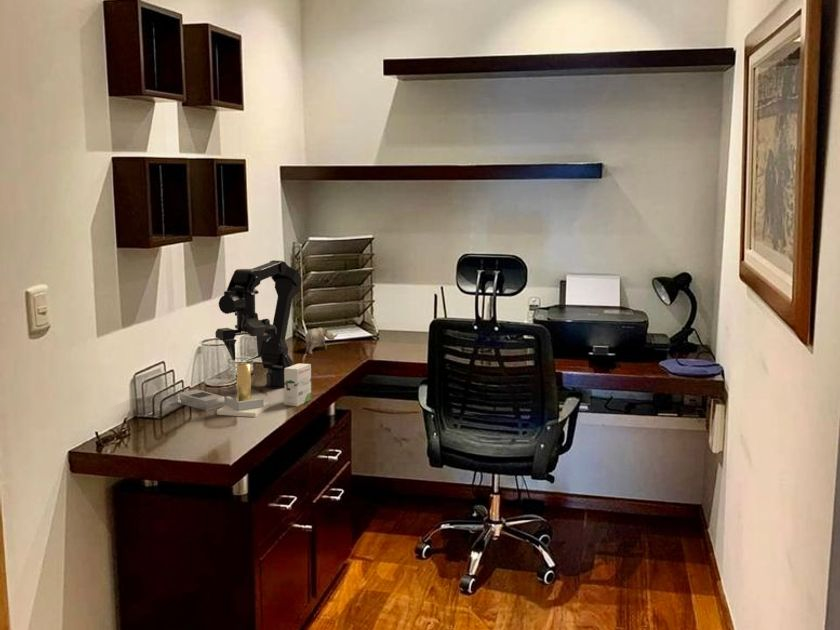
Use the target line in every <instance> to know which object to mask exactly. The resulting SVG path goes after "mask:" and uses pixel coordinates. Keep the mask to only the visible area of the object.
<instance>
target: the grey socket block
mask: <svg viewBox="0 0 840 630" xmlns="http://www.w3.org/2000/svg"><path fill="white" fill-rule="evenodd" d="M179 393H180V400H181V405H185V406H189V407H190V408H191V407H192V408H193V409H194V408H195V409H199V410H202V411H206V412H207V411H211V410H215V409H220V408H222V407H223V406H225V396H222V395H219V394H215V393H212V392H208V391H204V390H201V389H191V390H187V391H183V392H182V391H181V392H179Z"/></svg>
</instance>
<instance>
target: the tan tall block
mask: <svg viewBox="0 0 840 630" xmlns="http://www.w3.org/2000/svg"><path fill="white" fill-rule="evenodd" d="M251 369H252V363H250V362H238V363H237V364H236V374H237V375H236V400H237V401H246V400H252V397H251V394H252V387H251V386H252V385H251V384H252V383H251V382H252V380H251V379H252V378H251V377H252V375H251V374H252V372H251V371H252V370H251Z"/></svg>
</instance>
